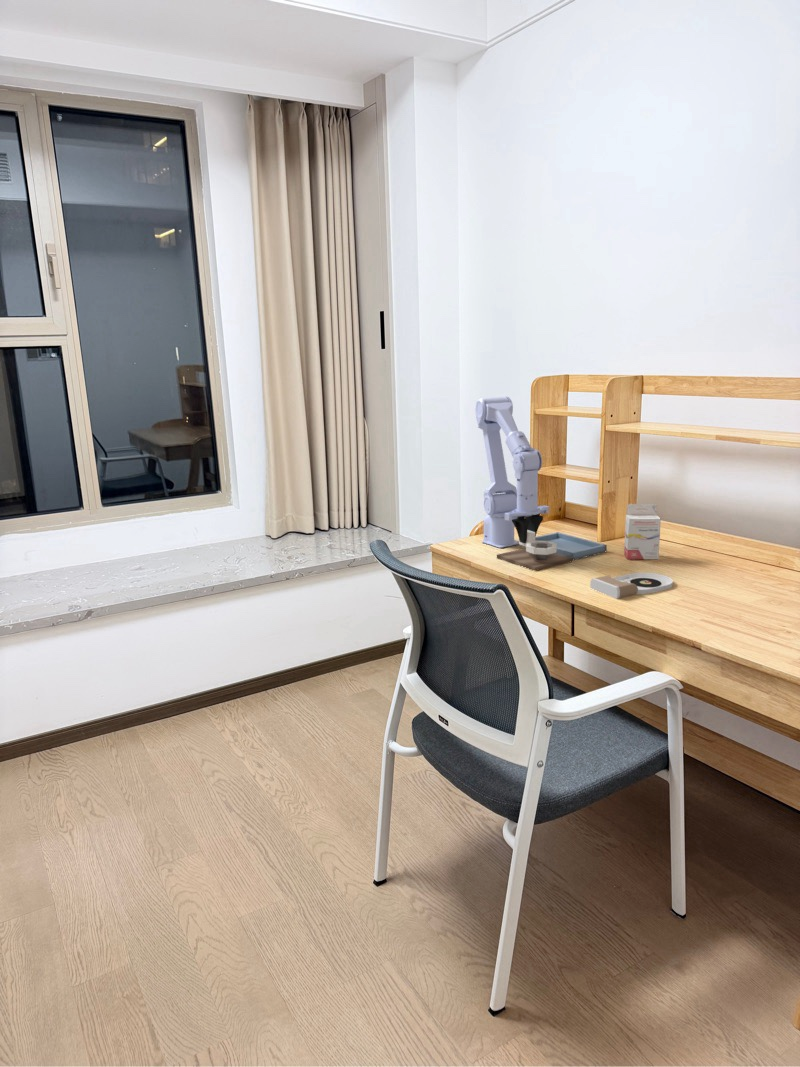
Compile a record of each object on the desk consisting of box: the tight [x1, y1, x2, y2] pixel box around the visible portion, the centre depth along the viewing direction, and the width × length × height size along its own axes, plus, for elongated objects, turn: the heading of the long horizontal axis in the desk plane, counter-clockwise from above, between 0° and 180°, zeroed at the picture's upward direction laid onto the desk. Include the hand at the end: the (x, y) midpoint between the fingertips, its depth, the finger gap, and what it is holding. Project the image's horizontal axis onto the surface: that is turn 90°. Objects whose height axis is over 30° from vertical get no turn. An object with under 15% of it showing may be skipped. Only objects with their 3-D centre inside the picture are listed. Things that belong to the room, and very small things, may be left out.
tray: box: [535, 531, 608, 561], centre depth 219 cm, size 20×13×2 cm, turn 31°
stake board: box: [496, 543, 574, 571], centre depth 209 cm, size 16×14×5 cm
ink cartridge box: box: [623, 503, 662, 561], centre depth 206 cm, size 9×5×15 cm, turn 84°
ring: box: [518, 530, 557, 555], centre depth 208 cm, size 12×8×4 cm
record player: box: [589, 571, 674, 600], centre depth 184 cm, size 12×3×20 cm
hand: (527, 541), depth 211 cm, fingers closed on ring, 2 cm apart
